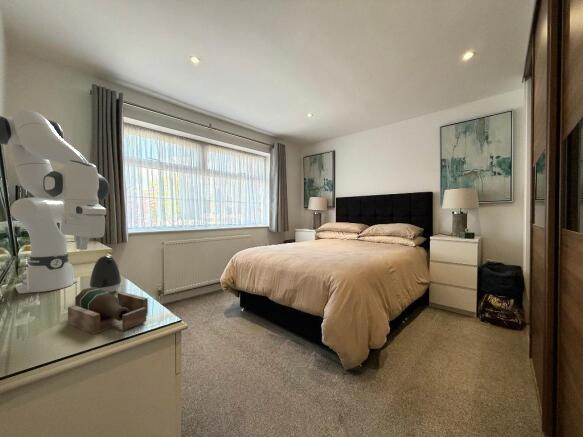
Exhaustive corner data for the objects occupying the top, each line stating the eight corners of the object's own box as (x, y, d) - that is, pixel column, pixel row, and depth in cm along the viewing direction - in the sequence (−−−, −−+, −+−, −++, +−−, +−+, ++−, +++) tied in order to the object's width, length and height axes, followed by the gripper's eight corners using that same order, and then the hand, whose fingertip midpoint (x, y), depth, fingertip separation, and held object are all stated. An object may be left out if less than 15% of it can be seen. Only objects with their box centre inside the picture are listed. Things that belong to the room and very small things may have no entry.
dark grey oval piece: (96, 298, 91) (95, 259, 91) (85, 293, 97) (85, 256, 96) (126, 291, 100) (125, 255, 99) (114, 287, 105) (114, 252, 105)
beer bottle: (106, 299, 84) (142, 315, 72) (80, 315, 78) (115, 335, 66) (95, 281, 82) (131, 294, 69) (68, 296, 76) (101, 313, 63)
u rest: (68, 323, 71) (67, 306, 70) (122, 306, 84) (122, 291, 84) (106, 340, 62) (106, 320, 62) (160, 317, 75) (160, 301, 75)
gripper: (54, 208, 82) (54, 247, 83) (86, 209, 74) (86, 253, 74) (77, 208, 88) (77, 245, 89) (109, 209, 80) (109, 250, 80)
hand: (81, 249), depth 81 cm, fingers closed
